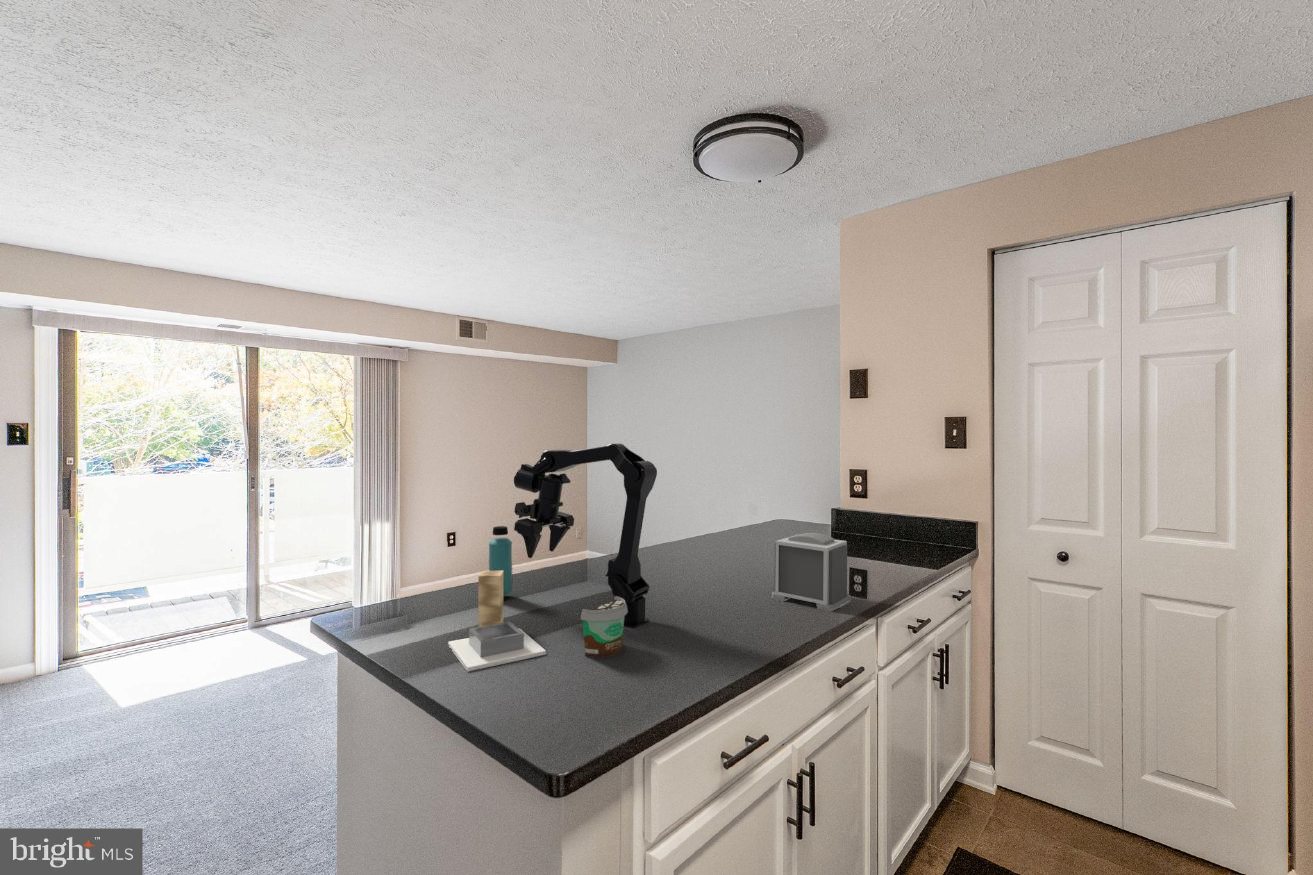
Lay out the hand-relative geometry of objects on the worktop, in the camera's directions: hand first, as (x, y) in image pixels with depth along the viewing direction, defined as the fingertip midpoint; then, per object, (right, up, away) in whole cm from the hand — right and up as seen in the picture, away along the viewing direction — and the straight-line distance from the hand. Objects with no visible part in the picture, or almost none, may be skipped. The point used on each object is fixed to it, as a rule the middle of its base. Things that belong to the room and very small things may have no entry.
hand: (540, 554), depth 151 cm
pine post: (-8, -14, -16) cm, 23 cm away
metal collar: (-4, -14, -30) cm, 33 cm away
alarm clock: (+74, -15, +8) cm, 75 cm away
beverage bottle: (-13, -14, +8) cm, 21 cm away
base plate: (-4, -14, -30) cm, 33 cm away
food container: (+21, -15, -30) cm, 39 cm away
